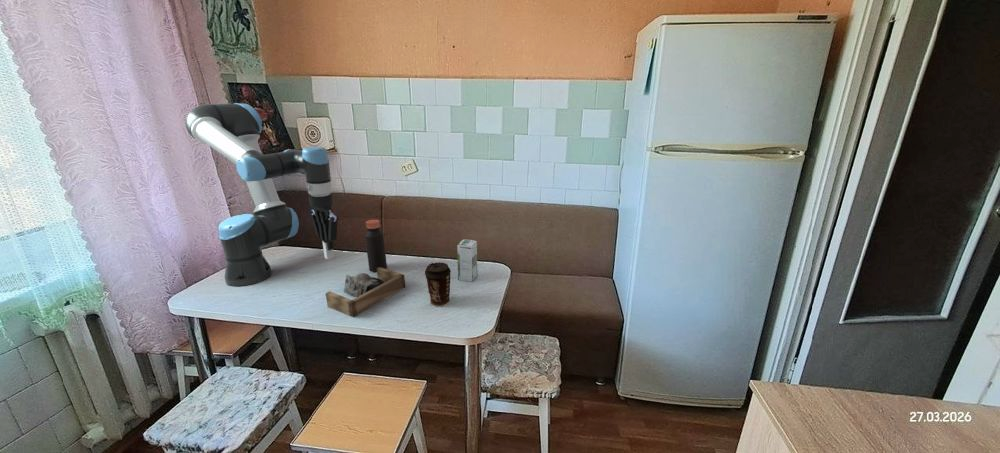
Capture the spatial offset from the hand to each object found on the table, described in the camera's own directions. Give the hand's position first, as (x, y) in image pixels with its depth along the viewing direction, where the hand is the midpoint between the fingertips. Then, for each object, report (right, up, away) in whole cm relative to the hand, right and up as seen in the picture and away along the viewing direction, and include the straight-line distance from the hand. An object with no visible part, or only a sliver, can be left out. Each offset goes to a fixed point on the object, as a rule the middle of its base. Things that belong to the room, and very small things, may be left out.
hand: (329, 257), depth 141 cm
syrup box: (+49, -9, +7) cm, 50 cm away
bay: (+15, -13, -5) cm, 21 cm away
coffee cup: (+41, -14, -9) cm, 44 cm away
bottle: (+13, -6, +15) cm, 21 cm away
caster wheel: (+14, -12, -2) cm, 19 cm away
